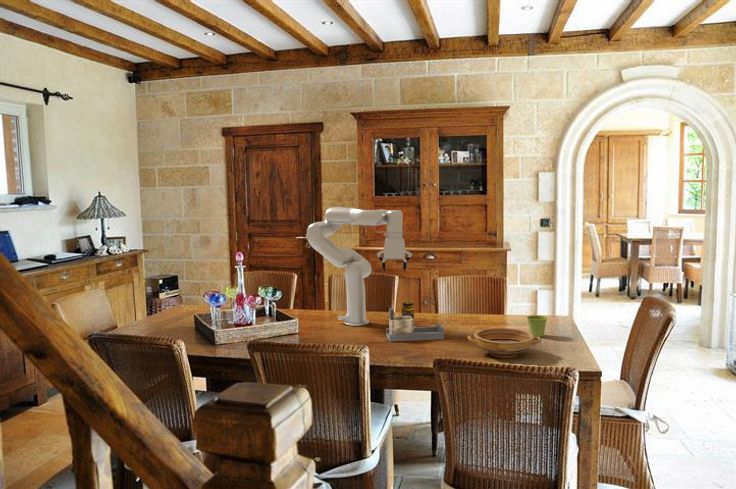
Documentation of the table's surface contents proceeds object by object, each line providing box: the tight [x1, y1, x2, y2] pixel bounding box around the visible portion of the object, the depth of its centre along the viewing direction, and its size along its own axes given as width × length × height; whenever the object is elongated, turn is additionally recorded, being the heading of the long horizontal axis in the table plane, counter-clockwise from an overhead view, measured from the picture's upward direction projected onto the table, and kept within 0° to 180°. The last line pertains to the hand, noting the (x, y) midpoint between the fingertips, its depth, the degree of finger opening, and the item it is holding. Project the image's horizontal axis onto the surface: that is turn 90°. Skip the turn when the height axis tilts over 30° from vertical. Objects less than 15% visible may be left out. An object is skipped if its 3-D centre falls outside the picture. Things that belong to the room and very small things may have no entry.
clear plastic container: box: [388, 307, 415, 334], centre depth 266 cm, size 10×9×12 cm
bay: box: [385, 322, 445, 342], centre depth 267 cm, size 25×12×5 cm, turn 96°
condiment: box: [401, 301, 418, 327], centre depth 286 cm, size 7×8×12 cm
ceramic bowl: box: [467, 327, 542, 359], centre depth 238 cm, size 30×24×8 cm
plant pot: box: [525, 314, 549, 338], centre depth 265 cm, size 9×9×9 cm
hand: (394, 270), depth 284 cm, fingers open, 9 cm apart
